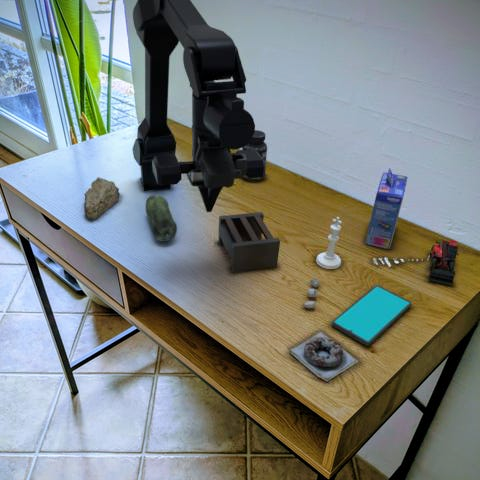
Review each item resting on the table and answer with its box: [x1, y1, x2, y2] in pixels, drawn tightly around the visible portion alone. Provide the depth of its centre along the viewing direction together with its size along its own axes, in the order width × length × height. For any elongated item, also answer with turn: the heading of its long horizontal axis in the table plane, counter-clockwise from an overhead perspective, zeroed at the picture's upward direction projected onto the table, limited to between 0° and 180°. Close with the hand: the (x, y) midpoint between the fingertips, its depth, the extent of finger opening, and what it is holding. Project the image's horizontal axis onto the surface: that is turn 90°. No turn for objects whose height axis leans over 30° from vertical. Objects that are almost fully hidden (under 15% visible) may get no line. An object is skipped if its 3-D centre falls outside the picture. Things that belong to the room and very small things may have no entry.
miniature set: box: [372, 254, 431, 268], centre depth 99 cm, size 3×12×2 cm, turn 103°
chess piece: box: [315, 216, 343, 270], centre depth 95 cm, size 5×5×10 cm
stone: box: [83, 176, 121, 221], centre depth 108 cm, size 14×7×5 cm, turn 169°
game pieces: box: [303, 276, 320, 309], centre depth 89 cm, size 8×2×2 cm
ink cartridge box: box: [365, 167, 408, 250], centre depth 102 cm, size 10×6×14 cm, turn 161°
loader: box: [428, 237, 460, 287], centre depth 97 cm, size 12×5×5 cm, turn 162°
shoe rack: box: [217, 211, 281, 274], centre depth 97 cm, size 9×11×6 cm
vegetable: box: [145, 194, 178, 242], centre depth 102 cm, size 14×5×5 cm
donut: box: [289, 331, 360, 382], centre depth 77 cm, size 8×8×2 cm
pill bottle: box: [241, 129, 268, 182], centre depth 121 cm, size 6×6×11 cm
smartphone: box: [331, 284, 412, 347], centre depth 86 cm, size 7×1×15 cm
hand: (208, 211), depth 90 cm, fingers closed
